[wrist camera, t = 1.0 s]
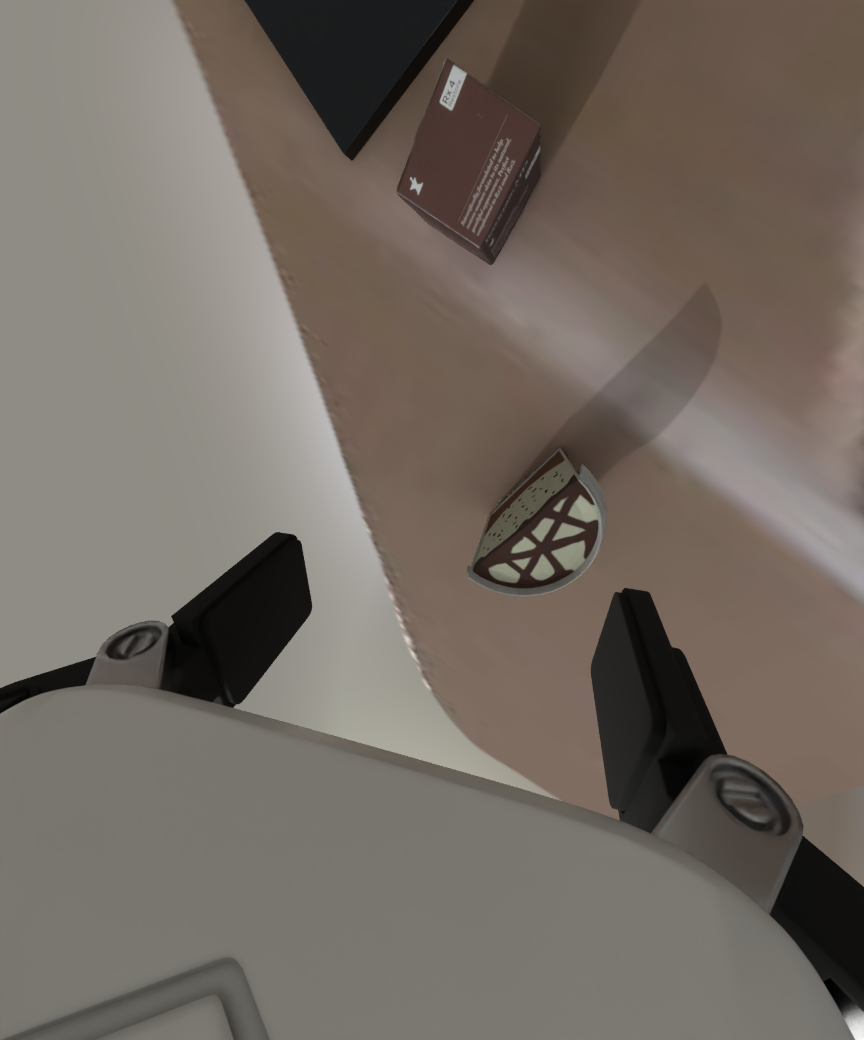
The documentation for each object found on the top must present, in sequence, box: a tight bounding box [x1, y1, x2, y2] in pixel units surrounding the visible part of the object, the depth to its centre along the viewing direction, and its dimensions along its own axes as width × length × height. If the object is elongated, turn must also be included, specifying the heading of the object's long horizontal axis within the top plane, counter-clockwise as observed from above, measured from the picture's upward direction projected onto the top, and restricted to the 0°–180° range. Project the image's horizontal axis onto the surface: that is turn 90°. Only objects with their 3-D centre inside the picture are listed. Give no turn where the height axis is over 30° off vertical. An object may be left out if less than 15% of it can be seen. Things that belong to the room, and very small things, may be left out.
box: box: [397, 59, 540, 265], centre depth 23 cm, size 6×6×7 cm
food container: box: [467, 447, 606, 596], centre depth 31 cm, size 12×6×10 cm, turn 142°
